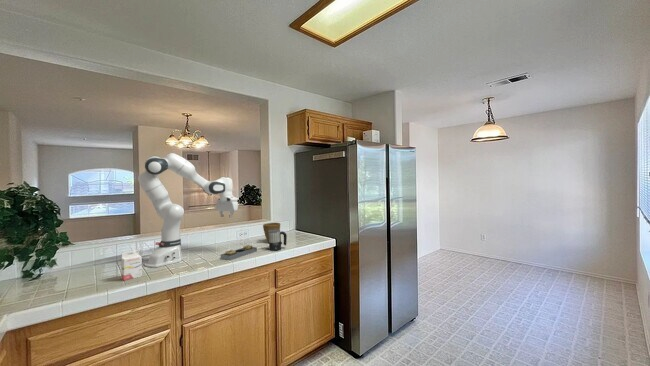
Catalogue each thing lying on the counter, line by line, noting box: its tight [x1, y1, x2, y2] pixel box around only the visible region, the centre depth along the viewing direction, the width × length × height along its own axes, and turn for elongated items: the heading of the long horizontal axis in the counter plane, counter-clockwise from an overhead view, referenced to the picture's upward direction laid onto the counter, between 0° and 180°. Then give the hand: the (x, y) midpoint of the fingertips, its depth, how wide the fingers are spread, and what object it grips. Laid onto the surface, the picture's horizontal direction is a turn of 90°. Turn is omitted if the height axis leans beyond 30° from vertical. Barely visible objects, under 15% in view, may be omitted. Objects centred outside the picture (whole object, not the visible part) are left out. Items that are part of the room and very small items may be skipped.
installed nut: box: [224, 249, 236, 255], centre depth 182 cm, size 5×5×5 cm
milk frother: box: [268, 229, 288, 252], centre depth 207 cm, size 14×16×15 cm
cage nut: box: [242, 244, 253, 250], centre depth 196 cm, size 5×5×5 cm
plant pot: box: [262, 222, 281, 244], centre depth 228 cm, size 15×15×16 cm
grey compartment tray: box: [220, 246, 258, 261], centre depth 189 cm, size 25×9×4 cm, turn 151°
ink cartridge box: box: [120, 249, 143, 281], centre depth 149 cm, size 9×5×15 cm, turn 141°
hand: (226, 217), depth 198 cm, fingers open, 8 cm apart
